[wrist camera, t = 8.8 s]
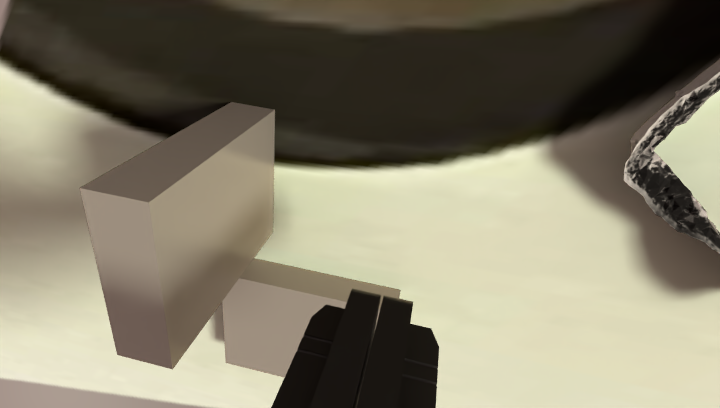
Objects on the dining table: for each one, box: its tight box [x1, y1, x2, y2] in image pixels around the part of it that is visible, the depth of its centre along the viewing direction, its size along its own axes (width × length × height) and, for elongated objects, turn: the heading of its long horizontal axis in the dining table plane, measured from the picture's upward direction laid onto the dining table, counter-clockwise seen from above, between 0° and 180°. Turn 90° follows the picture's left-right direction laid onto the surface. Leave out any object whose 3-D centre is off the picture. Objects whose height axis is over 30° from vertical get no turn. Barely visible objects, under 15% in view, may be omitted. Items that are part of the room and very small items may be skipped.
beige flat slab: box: [80, 102, 275, 369], centre depth 13 cm, size 5×2×7 cm, turn 173°
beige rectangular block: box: [222, 258, 401, 377], centre depth 19 cm, size 5×2×7 cm
